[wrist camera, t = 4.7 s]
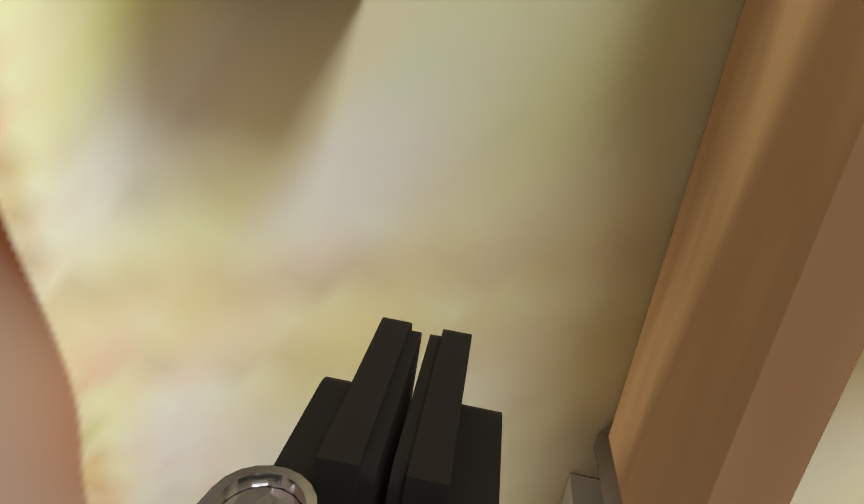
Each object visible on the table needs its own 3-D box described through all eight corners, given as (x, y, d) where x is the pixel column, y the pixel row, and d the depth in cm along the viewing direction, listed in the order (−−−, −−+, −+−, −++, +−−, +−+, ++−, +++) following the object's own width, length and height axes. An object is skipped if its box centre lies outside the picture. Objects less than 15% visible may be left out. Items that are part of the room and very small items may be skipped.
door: (828, -50, 12) (1119, -123, 6) (643, 475, 17) (707, 714, 11) (748, -61, 12) (959, -144, 6) (588, 463, 17) (622, 693, 11)
